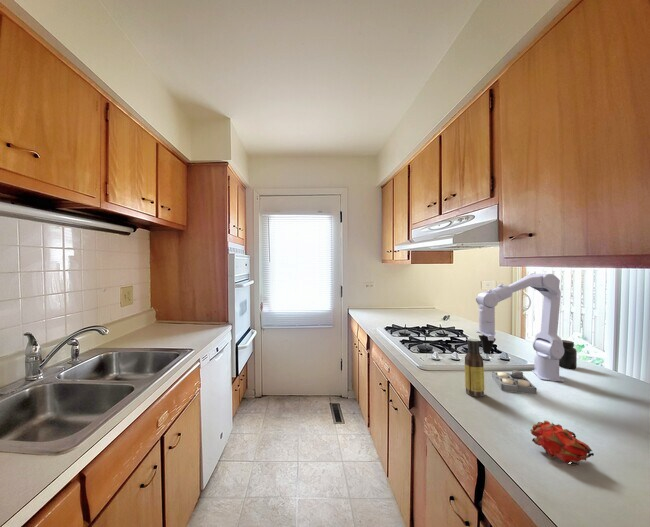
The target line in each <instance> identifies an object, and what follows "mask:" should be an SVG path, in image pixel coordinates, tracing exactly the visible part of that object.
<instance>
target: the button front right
mask: <svg viewBox="0 0 650 527" xmlns="http://www.w3.org/2000/svg"><path fill="white" fill-rule="evenodd" d="M502 383H503V384H512V385H513V380H512V379H509V378H502Z"/></svg>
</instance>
